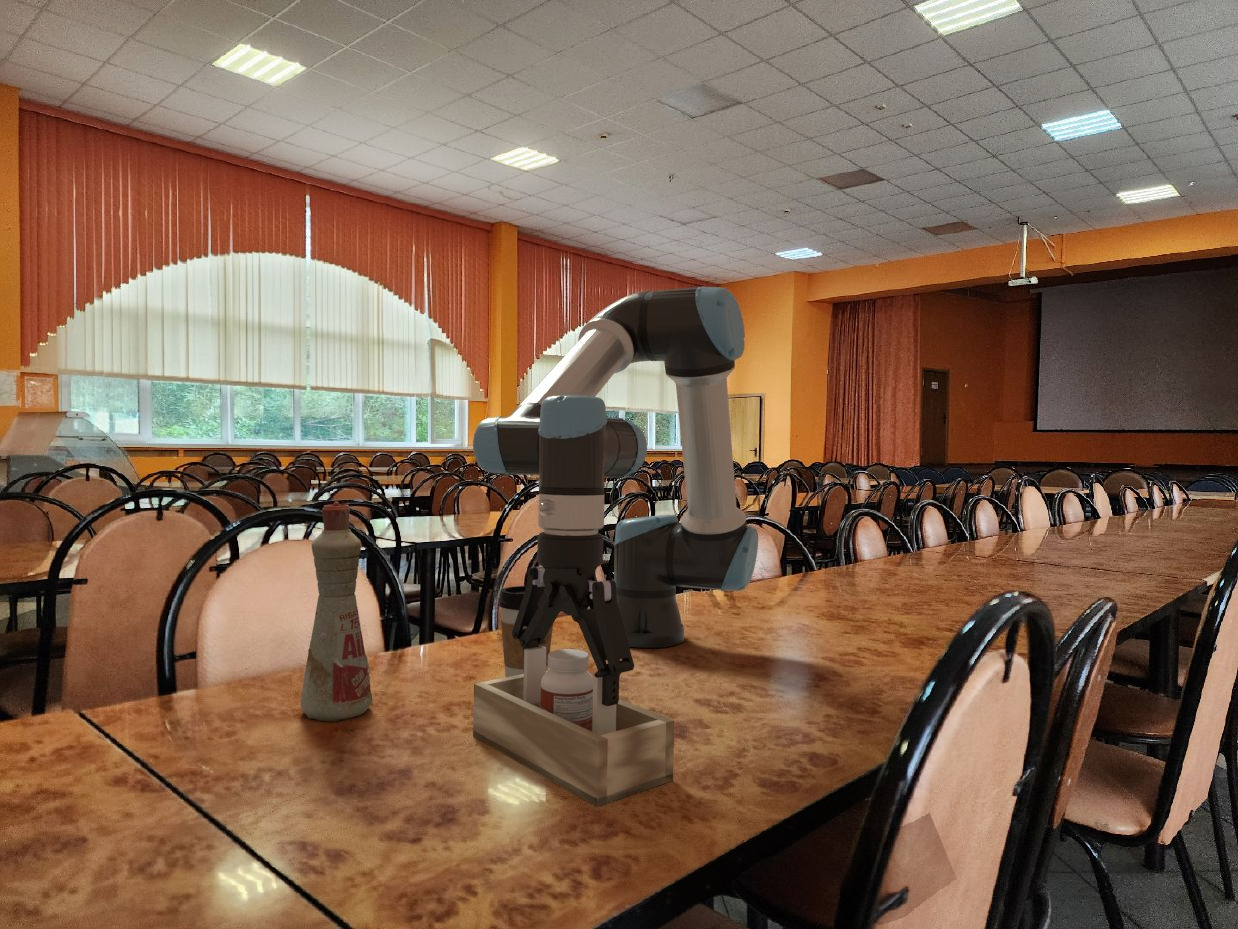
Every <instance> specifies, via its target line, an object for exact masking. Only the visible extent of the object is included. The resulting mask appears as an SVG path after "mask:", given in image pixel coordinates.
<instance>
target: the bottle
mask: <svg viewBox="0 0 1238 929" xmlns="http://www.w3.org/2000/svg"><path fill="white" fill-rule="evenodd" d="M350 510H351V507H350V505H349V504H340V502H339V501H336V500H335V501H334V502H333V504H325V505H323V508H322V509H321V512H322V513H321V514H322V522H323V528H324V529H323V530H321V533H320V534H318V535H317V537H316V538H315V539H314V540H313V541H312V543H311V550H312V556H313V563H314V568H315V576H316V581H317V590H318V597H317V602H316V609H315V615H314V621H313V626H312V632H311V638H310V641H309V648H308V651H307V652H308V653H307V658H306V665H305V669H304V674H303V677H304V678H303V684H302V688H301V689H302V690H301V694H300V695H301V697H300V707H301V708H300V709H301V710H302V711H303V712H304V714H305V715H306V716H307V717H306V718H308V719H309V720H311V719H315V720H317V721H321V722H329V723H330V722H337V721H339V722H340V721H344V720H349V719H351V718H354V717H358V716H360V715H362V714H364V713H365V712H366V711H367V710H368V709H369V707H370V706H371V705H372V702H373V693H372V691H371V676H370V673H371V672H370V671H371V669H370V665H369V661H368V657H367V654H366V650H365V646H364V638H363V632H362V627H361V622H360V615H359V614H360V613H359V609H358V603H357V602H358V601H357V596H356V593H355V592H356V588H357V579H358V573H359V563H360V555H361V550H362V541H361V539H360V538H358V537H357V535H355V534H354V533H353V532H352V531H351V529H350V528H349V527H350V512H351V511H350Z"/></svg>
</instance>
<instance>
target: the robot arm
mask: <svg viewBox="0 0 1238 929" xmlns="http://www.w3.org/2000/svg"><path fill="white" fill-rule="evenodd" d="M738 302H739V301H738V300H737V299H736V296H735V295H734V294H733V293H732V292H731V290H729V289H728V288H725V287H720V286H719V287H718V286H716V287H715V286H704V285H703V286H694V287H693V286H692V287H684V288H674V289H673V288H672V289H659V290H643V291H638V292H634V293H631V294H629V295H626V296H623V297H621V298H619V299H617V300H616V301H614V302H612V303H611V304H609V305H608V306H606V307H605V308H603V309H601V310H600V311H599V312H598V313H596V314H595V315H594V316H593V317H592V318H591V319H589V320H588V321H587V323H585V325H584V326H583V327H582V328H581V329H580V332H579V334H578V338H577V339H578V340H577V343H576V344H575V345H574V346H573V347H572V348H570V350H569V351H568V352H567V353H566V354H565V355H564V356H563V357H562V358H561V360H559V362H558V363H557V364H556V365H555V366H554V367H553V368H552V369H551V370H550V371H549V373H547V375H546V376H544V378H543V379H542V380H541V381H540V382H539V383H538V384H537V385H536V386H535V388H533V390H531V392H530V393H529V394H528V395H527V396H526V397H525V398H524V399H523V400H522V401H521V403H520V404H519V405H518V406H517V407H516V409H514V410H513V411H512V412H511V413H510V415H508V416H507V417H506V416H505V417H504V416H500V415H498V416H496V417H487V418H486V419H485V418H484V419H483V420H481V421H480V422H479V423H478V425H477V427H476V429H475V431H474V433H473V441H472V450H473V451H472V452H473V454H474V457H475V460H476V463H477V465H478V466H479V467H480V468H481V469H482V470H483V471H485V472H487V473H492V474H493V473H494V474H503V475H504V474H505V475H507V476H511V475H515V476H516V475H519V476H520V475H522V476H523V475H524V476H526V475H528V476H530V475H531V476H532V475H533V476H538V478H539V479H538V480H539V481H538V484H539V486H538V517H537V518H538V527H539V528H540V529H542V530H543V531H542V532H539V534H537V547H536V549H537V550H536V551H537V553H536V560H537V564H538V565H539V566H534V567H528V569H527V575H526V576H527V577H526V585H525V586H526V589H525V592H524V595H523V599H522V602H521V605H520V608H519V612H518V615H517V618H516V621H515V625H514V628H513V631H512V637H513V639H518V640H519V641H520V645H521V647H523V671H524V688H523V701H525V702H528V703H530V704H532V703H536V702H541V680H542V677H543V676H544V675H545V673H546V647H544V646H541V647H538V645H542V644H546V642H545V640H544V638H545V637H546V635H547V633H548V631H549V630H550V628H551V626H552V625H553V626H554V624H555V623H554V622H555V621H556V620H557V618H558V617H559V614H560V613H564V614H565V615H568V616H571V619H572V620H573V621H574V622H575V623H577V624H578V626H579V628H580V631H581V633H582V636H583V638H584V640H585V643H586V646H587V647H588V650H589V653H590V655H591V658H592V659H593V661H594V664H595V667H596V669H597V671H595V673H593V675H592V676H593V713H592V732H594V733H596V734H598V735H600V736H601V735H604V734H608V733H612V732H615V731H616V704H618V701H619V699H620V695H619V694H620V675H621V674H622V673H626V672H631V671H633V670H634V668H635V664H634V660H633V655H632V651H631V648H642V649H643V648H644V649H645V648H646V649H648V648H649V649H651V648H653V649H654V648H656V649H657V648H667V647H673V646H676V645H679V644H682V643H683V642H684V641H685V626H684V624H683V622H682V619H681V613H680V610H679V607H678V603H677V598H676V597H677V593H676V592H677V591H676V590H677V589H676V588H677V587H680V588H681V587H683V588H691V589H692V588H695V589H705V590H717V591H721V592H725V591H730V592H731V591H735V592H740V591H743V590H745V589H746V588H747V587H748V586H749V585H750V582H751V579H752V577H753V574H754V572H755V571H754V570H755V567H756V561H757V556H758V549H759V533H758V529H757V528H756V527H753V526H752V525H749V526H747V525H748V524H747V516H746V513H745V512H744V511H743V510H741V509H740V508H739V507H738V506H737V495H736V483H735V470H734V458H733V456H734V455H733V445H732V432H731V431H732V430H731V417H730V416H731V415H730V404H729V403H730V402H729V392H728V377H729V375H731V373H732V372H733V371H734V370H735V369H736V360H738V359H740V358H741V357H743V354H744V351H745V346H746V345H745V338H746V335H745V327H744V326H745V325H744V319H743V314H742V311H741V308H740V305H739V303H738ZM639 362H663V363H664V368H665V369H664V370H665V372H664V373H665V376H667V377H668V378H670V379H671V380H672V381H673V383H675V390H676V391H675V392H676V401H677V402H676V403H677V413H678V419H679V423H678V424H679V433H680V440H681V441H680V442H681V452H682V461H683V471H684V472H683V473H684V481H685V482H684V483H685V493H686V503H687V511H686V513H684V514H683V516H682V517H681V518H680V522H679V519H678V517H677V516H678V515H677V514H661V515H651V516H642V517H641V516H640V517H633V518H624V519H622V520H620V521H619V522H618V523H617V525H616V527H615V534H614V535H615V536H614V537H615V538H614V542H613V546H614V559H613V560H614V563H613V564H614V567H613V570H614V574H613V576H614V578H613V579H609V580H601V581H600V580H599V581H598V579H597V572H596V571H597V569H598V567H601V565H602V564H603V562H604V536H603V534H602V533H600V532H599V530H602V529H603V528H604V527H605V478H616V479H621V478H623V477H626V476H629V475H632V474H634V473H635V472H636V471H638V470H639V469H640V468H641V467H642V466H643V464H644V462H645V460H646V458H647V453H648V443H647V439H646V436H645V433H644V432H643V431H642V430H641V428H640V427H639V426H638V425H637V424H635V423H634V422H633V421H629V420H626V419H624V418H623V417H616V418H615V417H607V410H606V403H605V401H604V399H602V398H601V397H598V394H599V393H600V392H601V391H602V389H603V388H604V387H605V386H606V384H607V383H608V382H609V380H610V379H611V378H612V377H613V376H614V375H615V374H617V373H620V372H622V371H624V370H626V369H627V368H628V366H630V364H634V363H639ZM523 626H527V627H526V628H523ZM543 642H544V643H543Z"/></svg>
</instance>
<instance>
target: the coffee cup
mask: <svg viewBox="0 0 1238 929" xmlns="http://www.w3.org/2000/svg"><path fill="white" fill-rule="evenodd" d="M526 586H527V585H515V586H508V587H505V588H502V589H501V590H500V597H499V600H498V602H499V603H498V606H499V607H500V608H501V619H500V626H501V628H500V629H501V638H502V639H501V640H502V652H503V664H504V675H505V676H504V678H505V677H510V676H515V675H521V674H524V671H523V647H521V645H520V641H519V640H518V639H513V637H512V631H513V628H514V625H515V621H516V618H517V615H518V612H519V608H520V605H521V602H522V599H523V595H524V592H525V589H526ZM553 626H554V624H553V625H552V626H551V628H550V630H549V631H548V633H547V635H546V637H545V638H544V640H545V642H546V644H542V645H538V647H541V646H544V647H546V671H549V667H548V654H549V653H550V652H551V647H552V646H551V645H552V636H553ZM526 627H527V626H523V628H526ZM543 643H544V642H543Z"/></svg>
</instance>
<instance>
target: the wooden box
mask: <svg viewBox="0 0 1238 929" xmlns="http://www.w3.org/2000/svg"><path fill="white" fill-rule="evenodd" d="M548 671H549V670H548ZM548 671H546V673H547V672H548ZM523 688H524V674H521V675H515V676H510V677H505V676H504V677H502V678H500V677H499V678H497V679H491V680H486V681H485V680H484V681H480V682H476V683H473V714H472V715H473V716H472V718H473V720H472V721H473V722H472V723H473V724H472V737H474V738H475V739H476V740H479V741H480V742H482V743H484V744H486V745H487V746H489V747H491V748H493V749H494V750H496V751H498V752H500V753H501V754H503V755H505V756H507V757H508V758H510V759H512V760H513V761H516V762H518V763H519V764H521V765H523V766H524V767H526V768H528V769H530V770H532V771H533V772H535V773H537V774H538V775H540V776H541V777H544V778H546V779H547V780H548V781H550V782H553V783H554V784H556V785H557V786H560V787H561V788H562V789H565V790H567V791H569V792H570V793H572V794H573V795H575V796H577V797H579V798H580V799H583V800H585V801H586V802H587V803H590V804H591V805H593V806H595V807H596V808H599V807H601V806H603V805H607V804H609V803H613V802H615V801H618V800H621V799H624V798H627V797H629V796H633V795H635V794H638V793H641V792H644V791H647V790H650V789H652V788H655V787H659V786H661V785H664V784H667V783H671V782H673V781H674V754H675V753H674V750H675V749H674V748H675V745H674V744H675V742H674V741H675V720H674V719H671V718H668V717H666V716H664V715H661V714H659V713H657V712H655V711H651V710H648V709H645V707H644V708H643V707H641V706H638V705H636V704H633V703H630V702H629V701H625V700H623V699H620V698H619V701H618V704H616V731H615V732H612V733H608V734H604V735H601V736H600V735H598V734H596V733H594V732H591V731H589V730H587V729H585V728H583V727H580V726H578V725H576V724H574V723H572V722H569V721H567V720H565V719H563V718H561V717H558V716H556V715H554V714H552V713H550V712H547V711H545V710H543V709H541V708H540V702H536V703H532V704H530V703H528V702H525V701H523Z"/></svg>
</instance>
